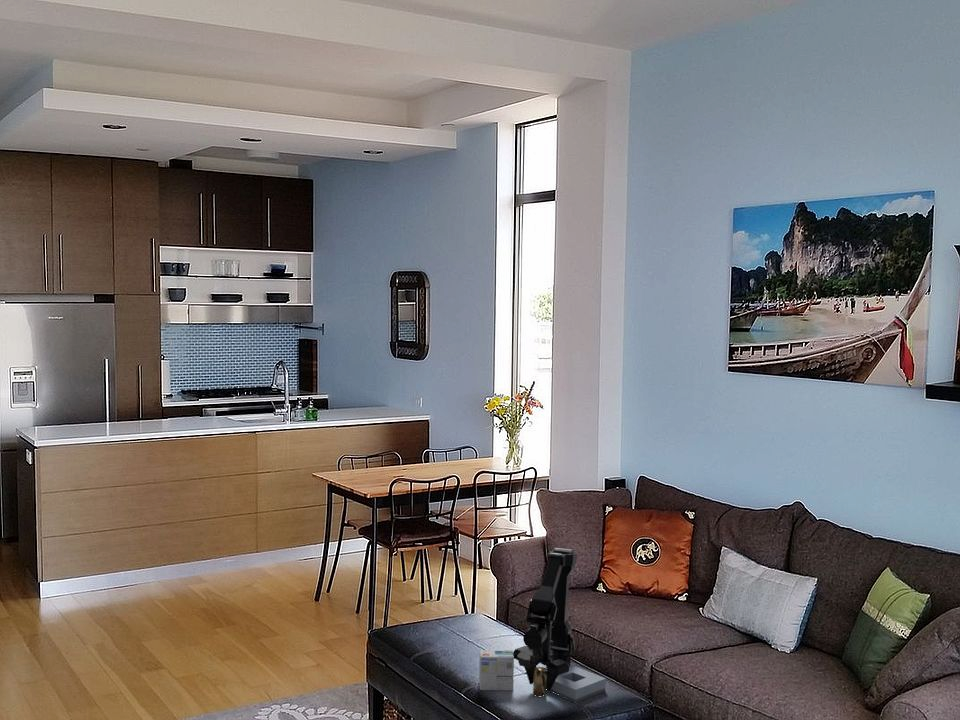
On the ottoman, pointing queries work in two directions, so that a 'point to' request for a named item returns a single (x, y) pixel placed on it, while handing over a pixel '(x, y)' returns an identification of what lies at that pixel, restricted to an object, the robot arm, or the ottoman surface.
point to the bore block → (578, 684)
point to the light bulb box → (496, 670)
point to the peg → (539, 681)
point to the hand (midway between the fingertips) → (539, 687)
